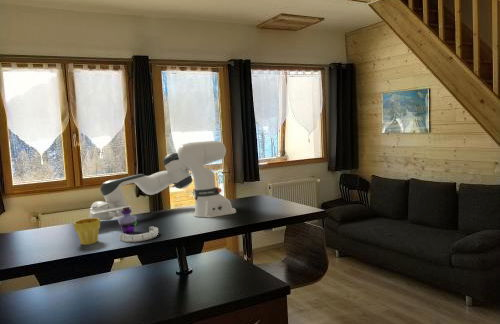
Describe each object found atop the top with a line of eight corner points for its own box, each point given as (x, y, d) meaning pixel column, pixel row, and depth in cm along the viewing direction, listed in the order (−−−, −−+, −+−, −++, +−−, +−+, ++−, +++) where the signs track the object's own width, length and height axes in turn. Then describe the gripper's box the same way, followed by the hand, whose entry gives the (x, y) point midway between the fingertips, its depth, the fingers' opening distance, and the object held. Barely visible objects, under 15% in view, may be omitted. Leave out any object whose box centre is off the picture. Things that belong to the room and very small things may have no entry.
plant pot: (87, 247, 168) (84, 224, 167) (71, 245, 173) (68, 222, 172) (107, 240, 177) (104, 218, 176) (91, 238, 182) (88, 217, 181)
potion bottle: (138, 233, 185) (135, 207, 184) (118, 235, 183) (115, 209, 182) (137, 229, 194) (135, 204, 193) (119, 231, 191) (116, 206, 190)
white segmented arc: (119, 239, 176) (119, 234, 176) (153, 231, 186) (152, 226, 186) (129, 244, 167) (129, 238, 167) (164, 235, 178) (164, 229, 177)
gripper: (126, 213, 215) (137, 216, 204) (87, 221, 202) (96, 225, 191) (125, 201, 214) (136, 204, 203) (86, 208, 201) (95, 212, 191)
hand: (116, 214), depth 197 cm, fingers closed
